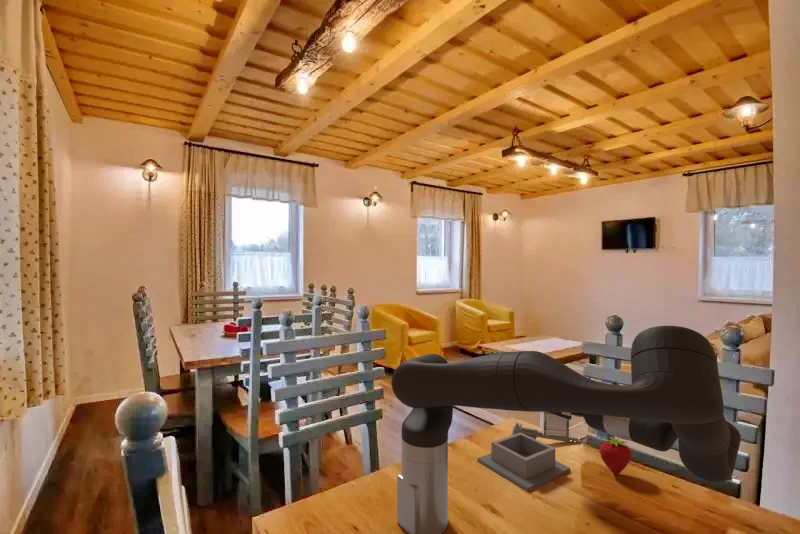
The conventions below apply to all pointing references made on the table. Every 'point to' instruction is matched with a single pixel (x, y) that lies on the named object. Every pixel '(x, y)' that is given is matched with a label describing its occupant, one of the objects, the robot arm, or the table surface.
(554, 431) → the syrup box
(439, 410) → the robot arm
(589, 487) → the table surface
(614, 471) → the strawberry
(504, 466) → the holder
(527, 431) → the caliper
